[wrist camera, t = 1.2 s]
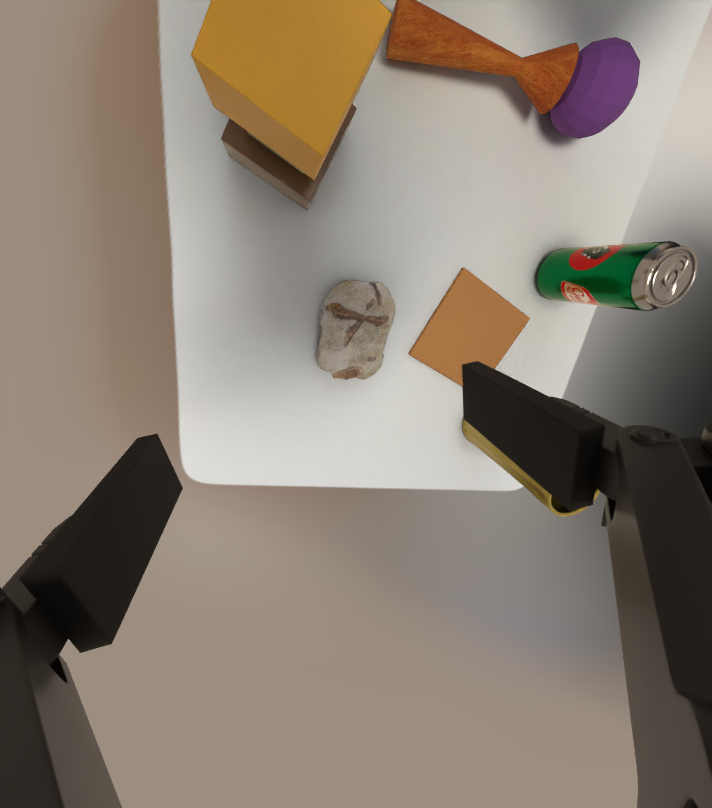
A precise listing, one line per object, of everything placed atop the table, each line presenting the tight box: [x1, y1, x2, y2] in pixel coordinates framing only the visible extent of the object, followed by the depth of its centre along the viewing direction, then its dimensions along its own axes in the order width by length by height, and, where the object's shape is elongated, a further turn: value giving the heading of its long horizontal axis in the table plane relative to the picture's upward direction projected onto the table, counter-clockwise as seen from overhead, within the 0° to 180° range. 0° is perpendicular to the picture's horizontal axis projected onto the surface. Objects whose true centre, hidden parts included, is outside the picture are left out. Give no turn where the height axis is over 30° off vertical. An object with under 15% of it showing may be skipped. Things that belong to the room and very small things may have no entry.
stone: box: [316, 280, 395, 380], centre depth 33 cm, size 10×7×3 cm
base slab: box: [221, 104, 356, 210], centre depth 25 cm, size 7×7×4 cm
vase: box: [463, 420, 600, 516], centre depth 35 cm, size 6×6×14 cm
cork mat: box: [409, 268, 530, 386], centre depth 37 cm, size 10×10×1 cm
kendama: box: [386, 0, 640, 139], centre depth 26 cm, size 6×6×20 cm
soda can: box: [537, 241, 697, 311], centre depth 31 cm, size 5×5×12 cm
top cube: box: [191, 0, 392, 180], centre depth 17 cm, size 6×6×5 cm
